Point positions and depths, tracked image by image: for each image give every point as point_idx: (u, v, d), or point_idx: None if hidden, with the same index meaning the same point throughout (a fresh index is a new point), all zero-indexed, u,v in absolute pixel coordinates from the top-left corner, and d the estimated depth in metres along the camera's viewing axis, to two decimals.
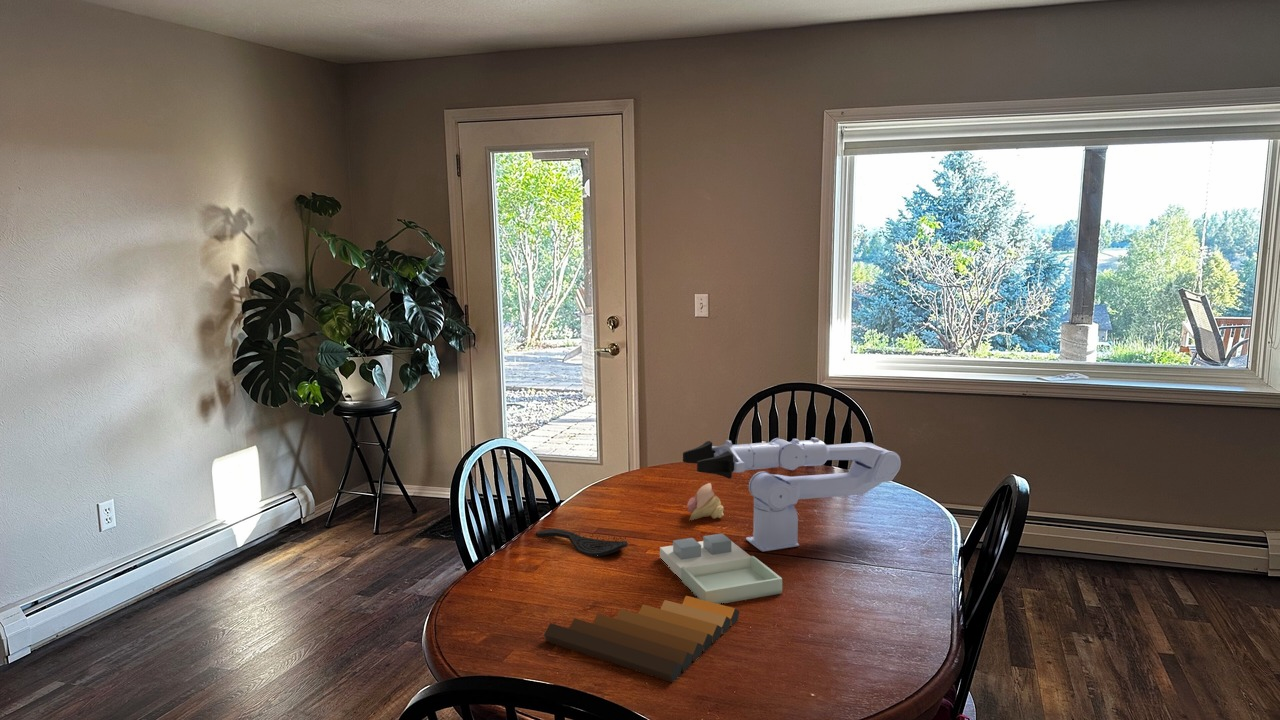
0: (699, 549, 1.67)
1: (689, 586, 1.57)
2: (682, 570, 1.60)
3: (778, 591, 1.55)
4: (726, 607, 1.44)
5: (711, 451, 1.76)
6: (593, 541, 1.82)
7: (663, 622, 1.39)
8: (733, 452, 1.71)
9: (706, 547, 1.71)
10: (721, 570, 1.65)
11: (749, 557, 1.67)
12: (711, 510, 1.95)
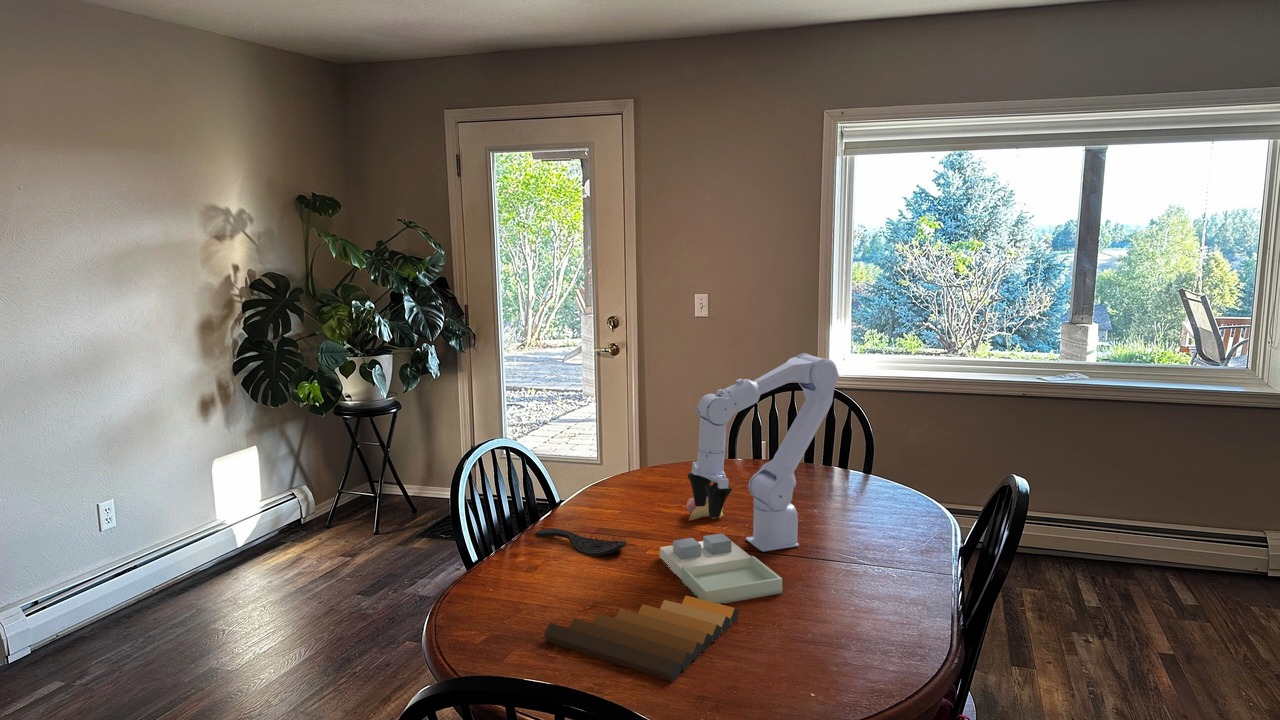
0: (699, 549, 1.67)
1: (689, 586, 1.57)
2: (682, 570, 1.60)
3: (778, 591, 1.55)
4: (726, 607, 1.44)
5: (698, 477, 1.76)
6: (592, 541, 1.82)
7: (663, 622, 1.39)
8: (706, 476, 1.69)
9: (706, 547, 1.71)
10: (721, 570, 1.65)
11: (749, 557, 1.67)
12: None
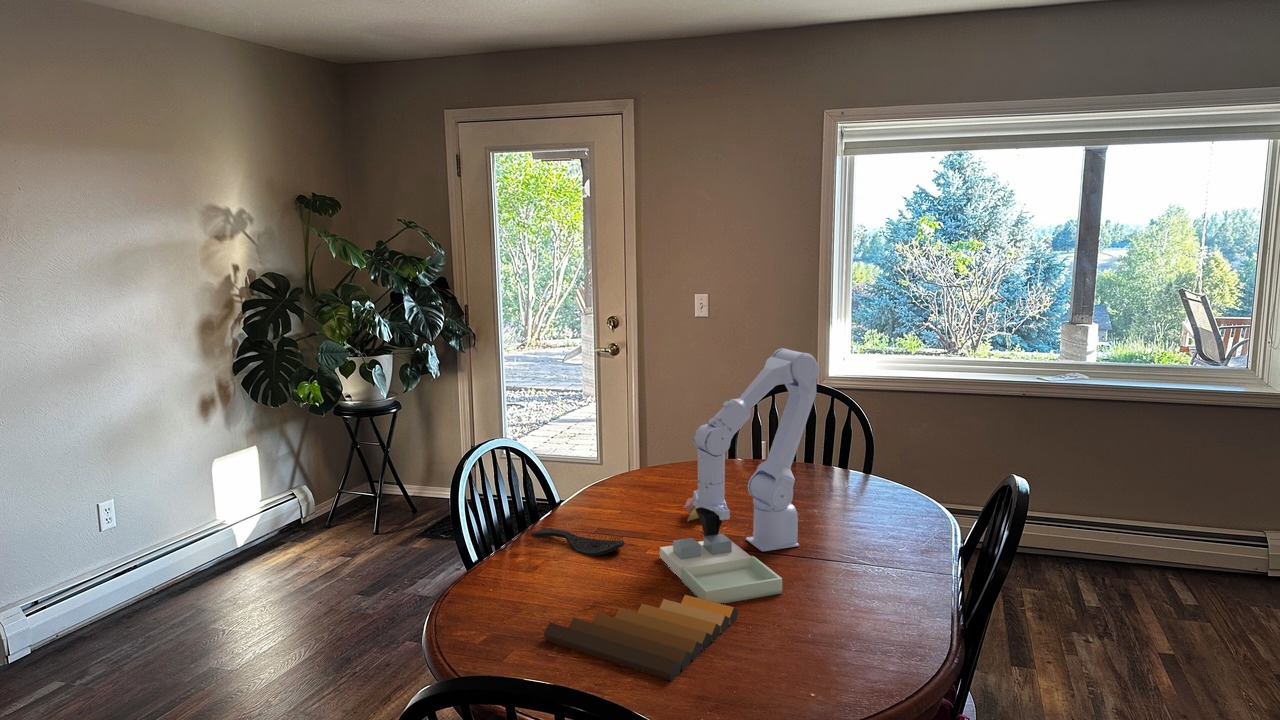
0: (699, 549, 1.67)
1: (689, 586, 1.57)
2: (682, 570, 1.60)
3: (778, 591, 1.55)
4: (725, 606, 1.44)
5: None
6: (590, 541, 1.82)
7: (662, 621, 1.39)
8: (707, 508, 1.69)
9: (706, 547, 1.71)
10: (721, 570, 1.65)
11: (749, 557, 1.67)
12: None
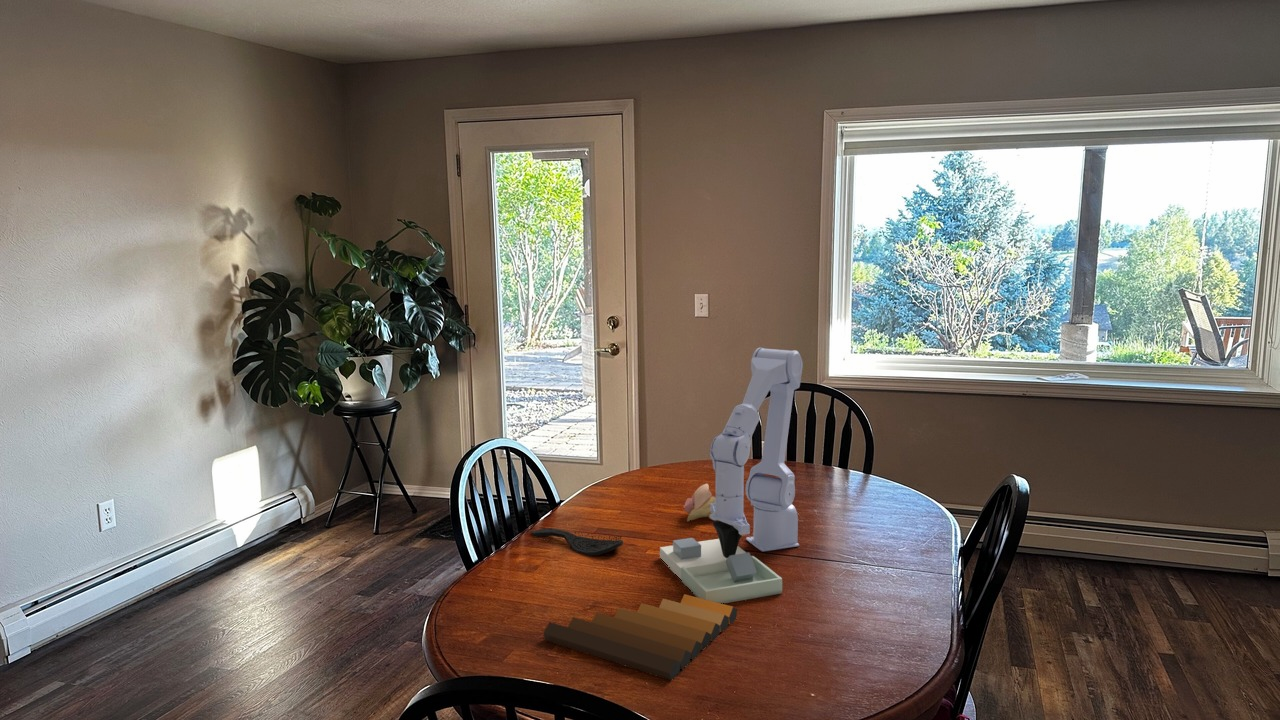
0: (699, 549, 1.67)
1: (689, 586, 1.57)
2: (682, 570, 1.60)
3: (778, 591, 1.55)
4: (724, 605, 1.45)
5: None
6: (588, 540, 1.82)
7: (662, 620, 1.39)
8: (726, 522, 1.61)
9: (729, 567, 1.61)
10: (721, 570, 1.65)
11: None
12: (708, 511, 1.95)
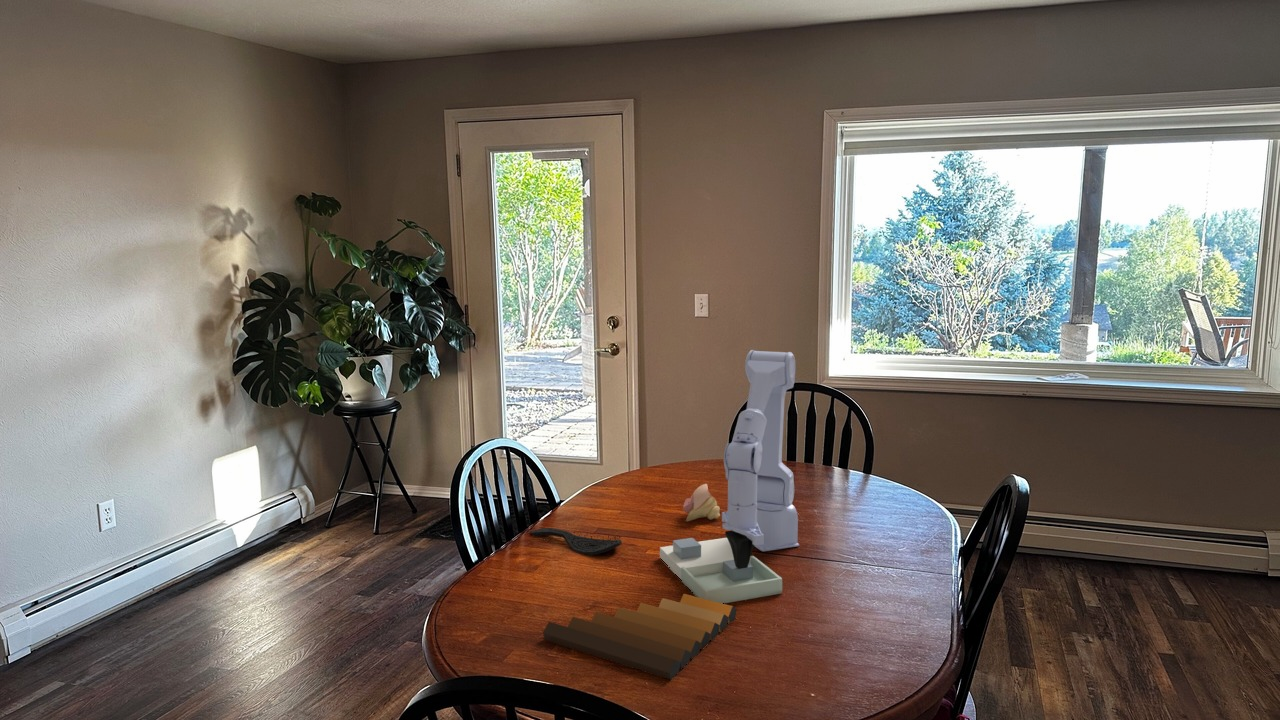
0: (699, 549, 1.67)
1: (689, 586, 1.57)
2: (682, 570, 1.60)
3: (778, 591, 1.55)
4: (724, 605, 1.45)
5: None
6: (587, 540, 1.82)
7: (661, 620, 1.39)
8: (739, 532, 1.55)
9: (726, 573, 1.62)
10: (721, 570, 1.65)
11: None
12: (707, 511, 1.95)
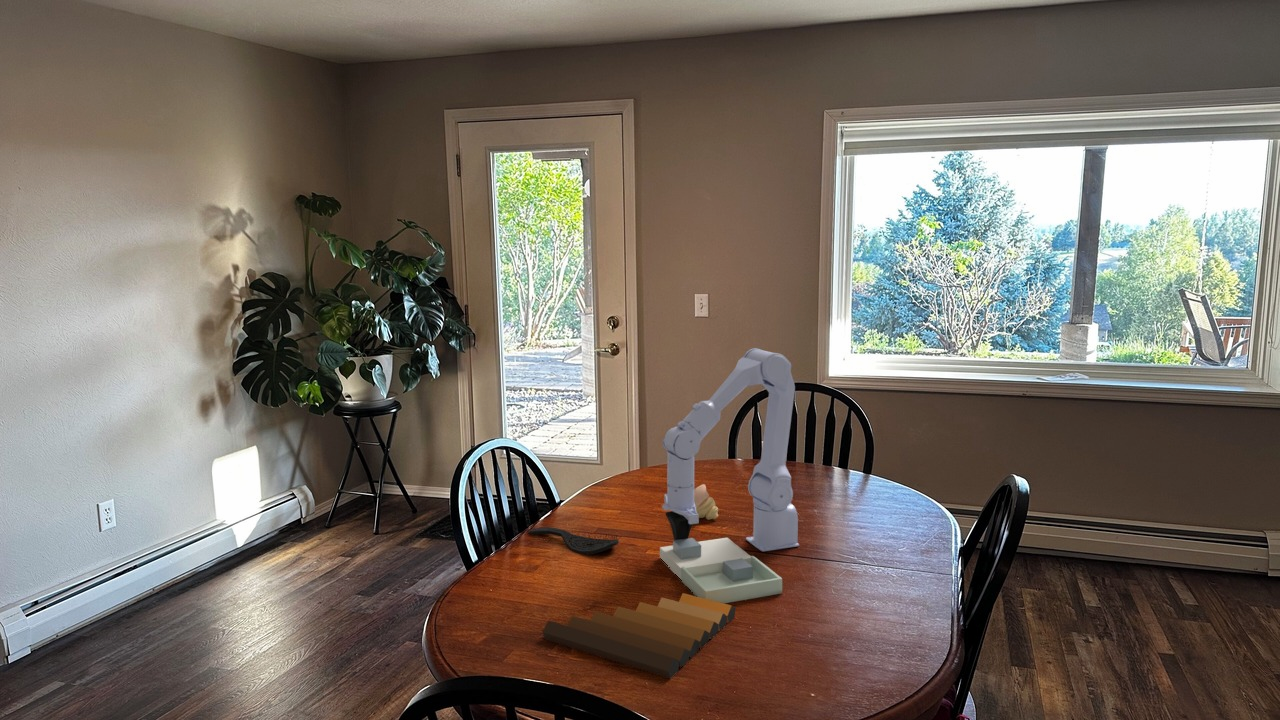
0: (699, 549, 1.67)
1: (689, 586, 1.57)
2: (682, 570, 1.60)
3: (778, 591, 1.55)
4: (722, 604, 1.45)
5: None
6: (585, 539, 1.83)
7: (660, 619, 1.40)
8: (676, 512, 1.67)
9: (726, 573, 1.62)
10: (721, 570, 1.65)
11: (749, 557, 1.67)
12: (706, 511, 1.94)
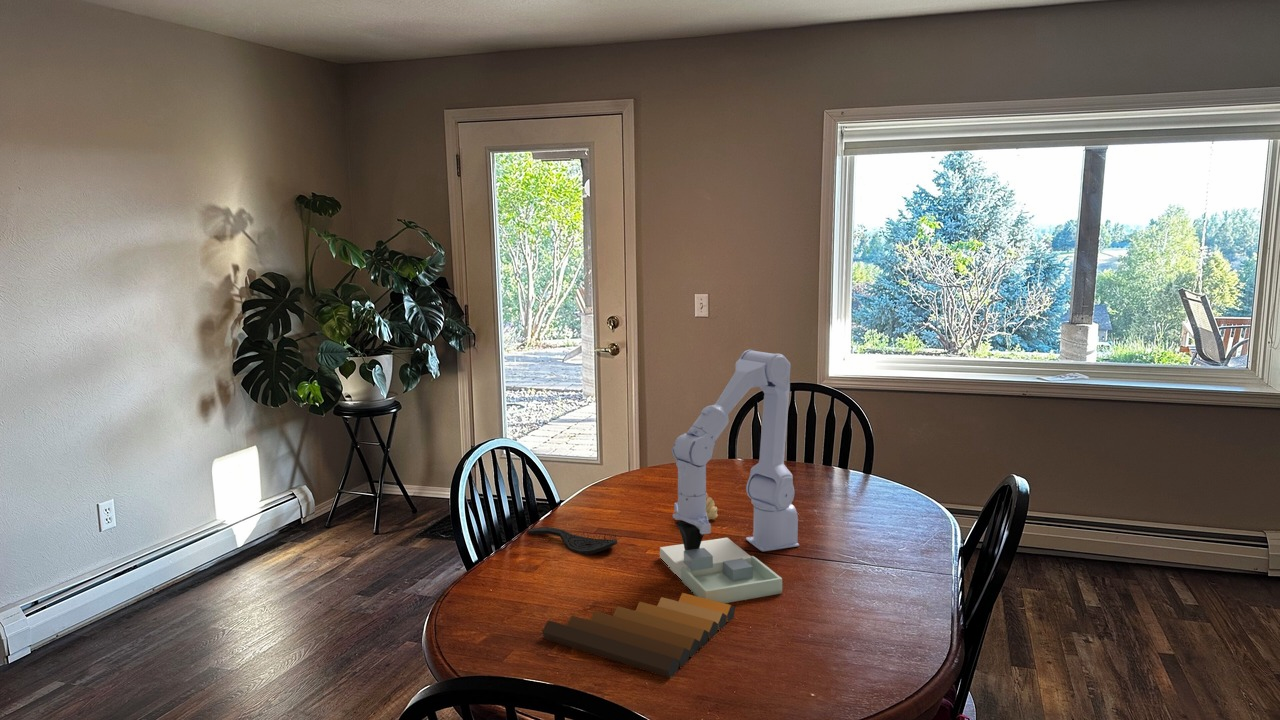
0: (711, 560, 1.61)
1: (689, 586, 1.57)
2: (682, 570, 1.60)
3: (778, 591, 1.55)
4: (722, 604, 1.45)
5: None
6: (584, 539, 1.83)
7: (660, 619, 1.40)
8: (687, 521, 1.61)
9: (726, 573, 1.62)
10: (721, 570, 1.65)
11: (749, 557, 1.67)
12: None
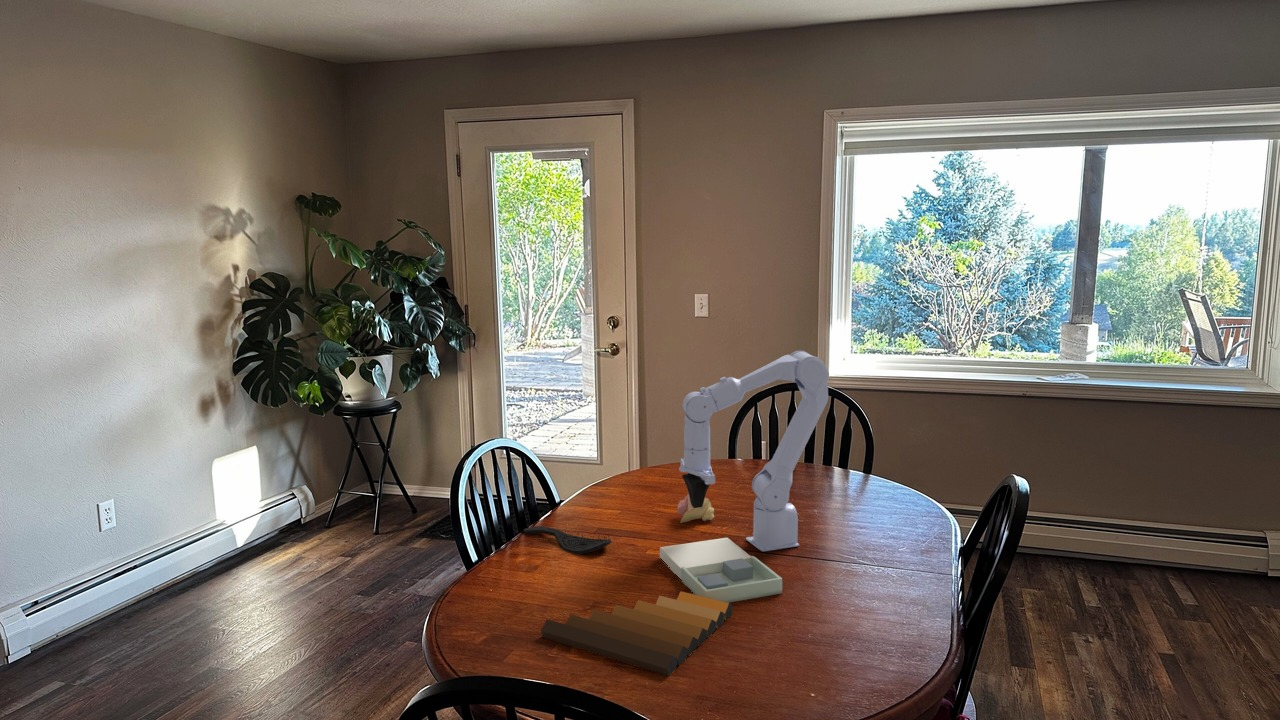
0: None
1: (689, 586, 1.57)
2: (682, 570, 1.60)
3: (778, 591, 1.55)
4: (720, 602, 1.46)
5: None
6: (578, 539, 1.83)
7: (658, 617, 1.40)
8: (693, 473, 1.73)
9: (726, 573, 1.62)
10: (721, 570, 1.65)
11: (749, 557, 1.67)
12: (702, 512, 1.94)
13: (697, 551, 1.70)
